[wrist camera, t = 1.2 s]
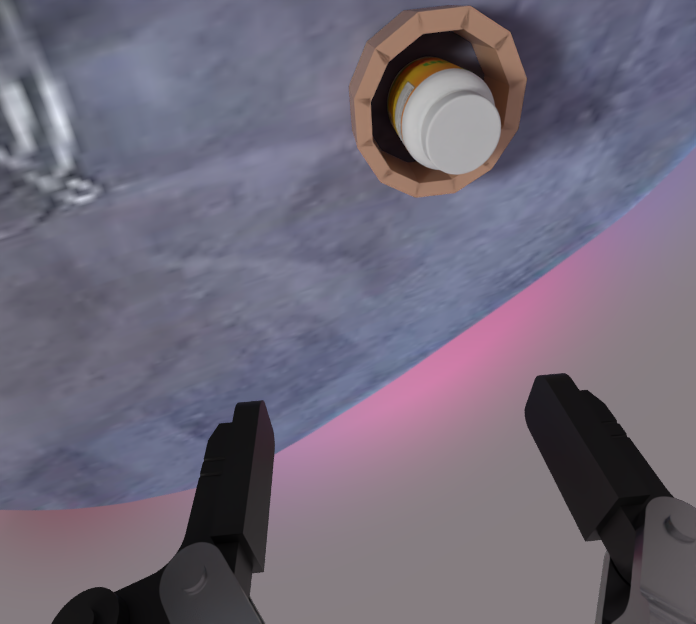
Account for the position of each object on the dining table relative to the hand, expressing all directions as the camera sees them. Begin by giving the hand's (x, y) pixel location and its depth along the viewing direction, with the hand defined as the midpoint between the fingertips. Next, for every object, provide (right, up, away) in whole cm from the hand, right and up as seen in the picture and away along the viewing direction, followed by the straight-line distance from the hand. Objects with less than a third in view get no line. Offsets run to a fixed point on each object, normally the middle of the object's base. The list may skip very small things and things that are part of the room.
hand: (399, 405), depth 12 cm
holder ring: (+4, +18, +16) cm, 25 cm away
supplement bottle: (+4, +18, +16) cm, 25 cm away
